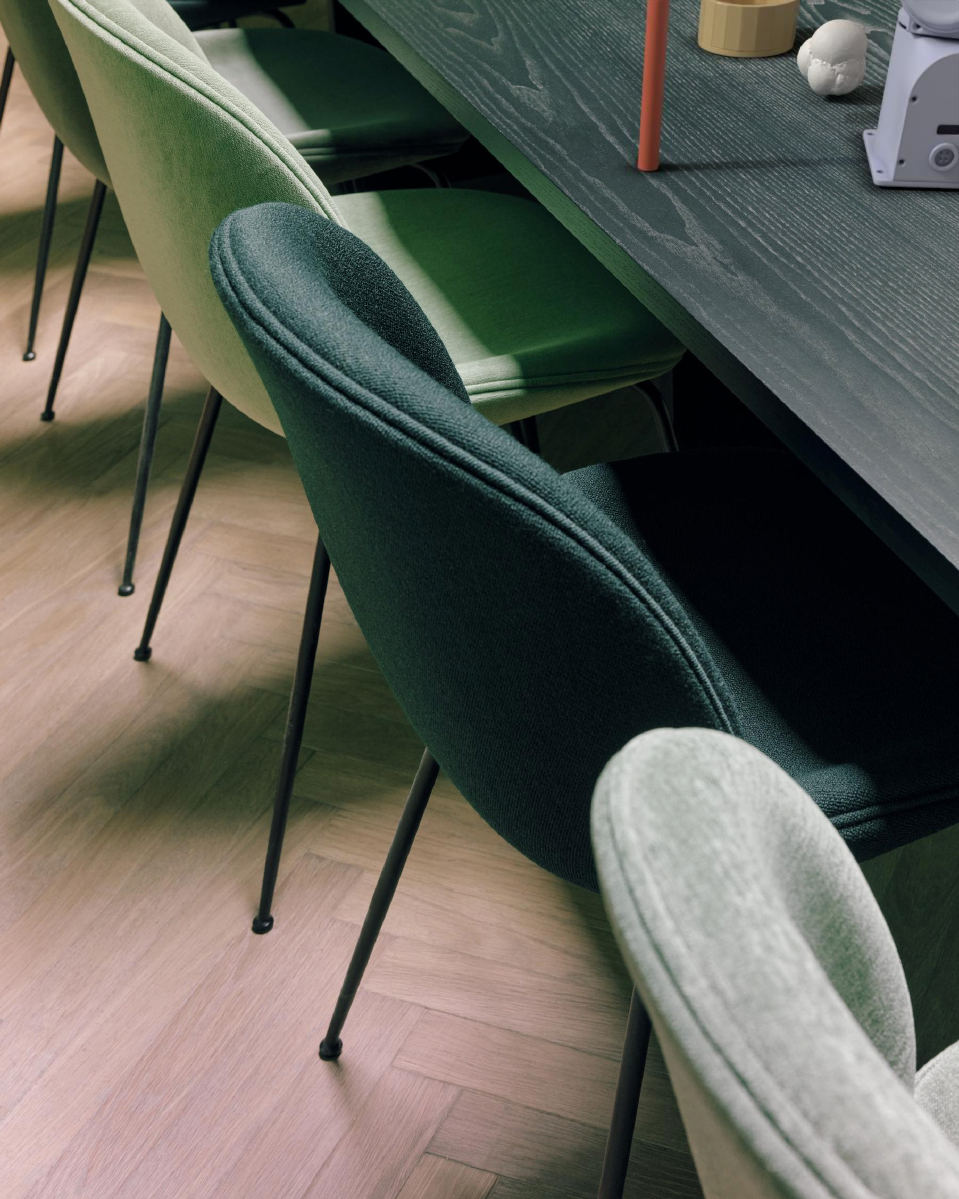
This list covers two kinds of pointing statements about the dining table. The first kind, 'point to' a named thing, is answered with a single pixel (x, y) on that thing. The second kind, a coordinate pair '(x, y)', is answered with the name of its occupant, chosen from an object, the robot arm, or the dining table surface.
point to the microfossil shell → (834, 58)
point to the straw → (653, 83)
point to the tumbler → (747, 27)
